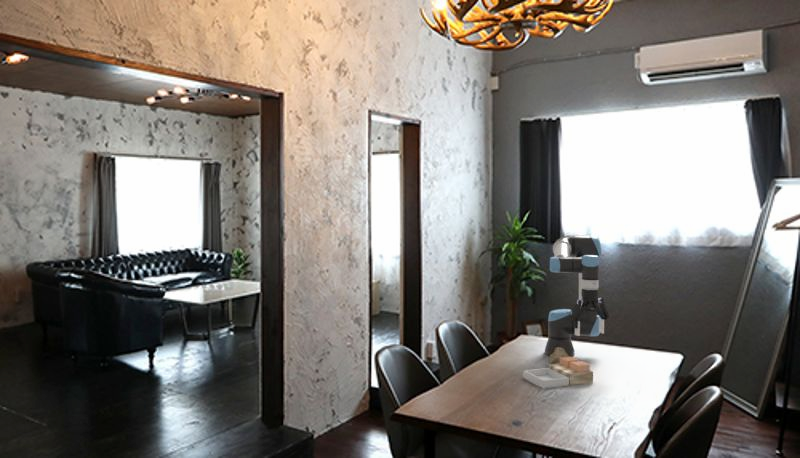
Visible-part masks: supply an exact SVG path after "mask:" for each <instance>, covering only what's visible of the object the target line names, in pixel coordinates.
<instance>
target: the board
mask: <svg viewBox="0 0 800 458" xmlns="http://www.w3.org/2000/svg"><path fill="white" fill-rule="evenodd" d="M548 368H549V369H552V370H554V371H556V372H558V373H560V374H562V375H564V376H567V377H569V386H577V385H579V386H580V385H586V384H593V383H594V371H593V370H591V369H590V371H587V372H576V371H574V370H572V369H570V367H569V368H567V367H565V366H563V365H560V363H559V364H550V365H549V364H548Z"/></svg>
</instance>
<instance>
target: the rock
mask: <svg viewBox="0 0 800 458" xmlns="http://www.w3.org/2000/svg"><path fill="white" fill-rule="evenodd" d="M562 357H569V355H567V354H566V352H565V350H564V349H563V348H559V347H556V348H555V350H554V352H553V354H551V355H550V356H549V357H548V359H549V360H548V366H549V365H550V364H559V363H560V358H562Z"/></svg>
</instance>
